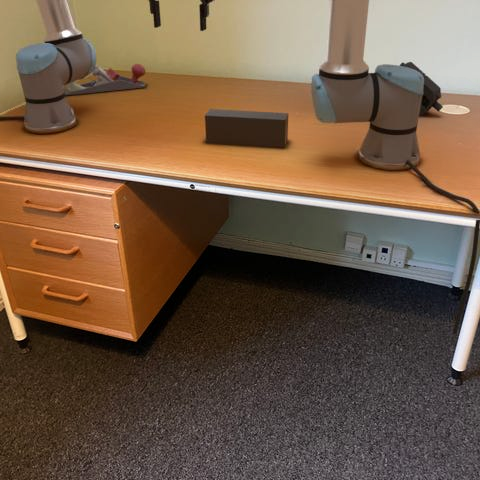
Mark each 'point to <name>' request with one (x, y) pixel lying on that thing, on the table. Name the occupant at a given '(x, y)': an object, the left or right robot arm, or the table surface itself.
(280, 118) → the bar
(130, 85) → the hand plane
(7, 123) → the table surface
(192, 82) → the table surface
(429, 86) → the tool
